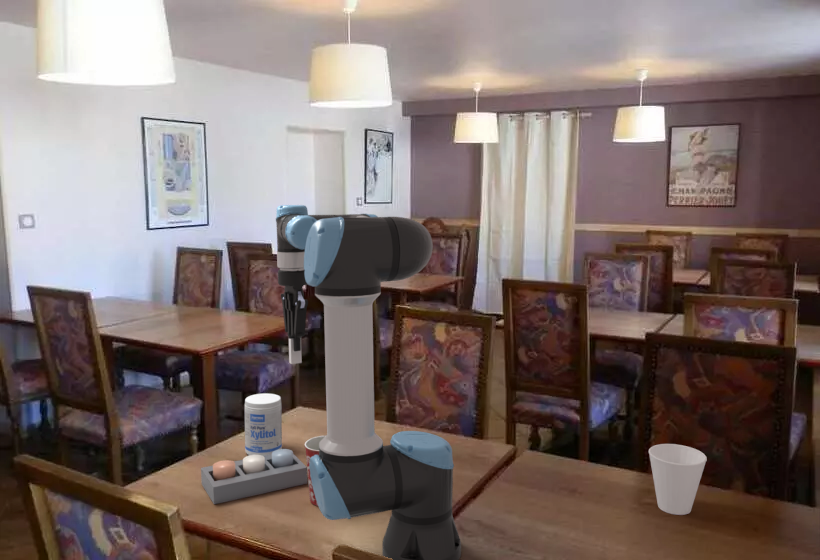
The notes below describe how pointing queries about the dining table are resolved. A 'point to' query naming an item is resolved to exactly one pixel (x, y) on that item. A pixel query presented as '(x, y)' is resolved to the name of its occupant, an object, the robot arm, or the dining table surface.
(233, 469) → the peach round dome
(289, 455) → the pale blue dome
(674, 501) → the cup
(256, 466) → the white domed button
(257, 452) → the supplement tub
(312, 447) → the mug
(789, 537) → the dining table surface
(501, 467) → the dining table surface
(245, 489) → the grey compartment tray
